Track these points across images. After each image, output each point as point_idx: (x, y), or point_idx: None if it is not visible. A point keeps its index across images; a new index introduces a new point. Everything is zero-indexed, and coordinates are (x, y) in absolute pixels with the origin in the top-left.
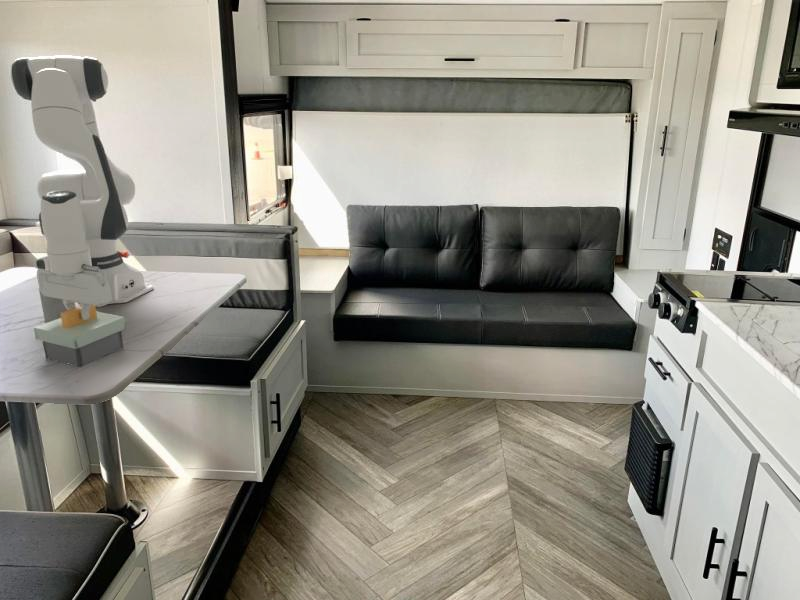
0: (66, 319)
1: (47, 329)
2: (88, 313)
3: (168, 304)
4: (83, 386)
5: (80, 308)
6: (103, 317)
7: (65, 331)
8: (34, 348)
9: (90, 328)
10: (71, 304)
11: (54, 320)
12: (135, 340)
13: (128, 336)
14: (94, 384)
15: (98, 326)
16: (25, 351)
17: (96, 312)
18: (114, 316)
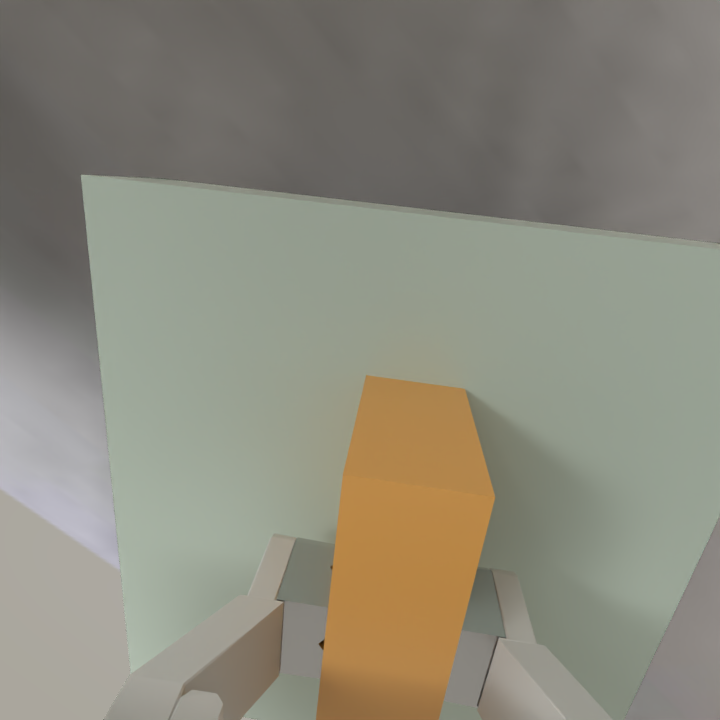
0: None
1: (264, 708)
2: (526, 624)
3: None
4: (672, 686)
5: (415, 686)
6: (540, 363)
7: (439, 718)
8: (78, 423)
9: (615, 641)
10: (221, 687)
11: (125, 557)
12: (604, 86)
13: (488, 26)
14: (714, 666)
15: (664, 589)
16: (77, 464)
17: (319, 239)
18: (669, 291)
